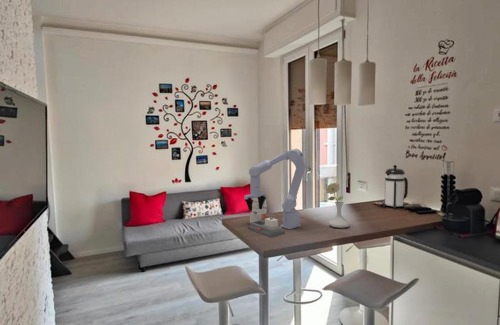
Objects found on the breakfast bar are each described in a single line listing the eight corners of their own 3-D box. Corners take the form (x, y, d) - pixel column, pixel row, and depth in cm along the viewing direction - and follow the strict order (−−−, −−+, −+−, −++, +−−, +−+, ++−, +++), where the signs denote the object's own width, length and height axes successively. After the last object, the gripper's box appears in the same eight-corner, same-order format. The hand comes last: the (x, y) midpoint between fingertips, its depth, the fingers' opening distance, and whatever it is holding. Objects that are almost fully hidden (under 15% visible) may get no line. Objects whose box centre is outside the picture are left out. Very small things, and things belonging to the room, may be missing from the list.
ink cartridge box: (267, 216, 206) (266, 194, 204) (264, 218, 201) (264, 195, 200) (254, 215, 209) (254, 193, 208) (251, 217, 204) (251, 194, 203)
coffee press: (407, 210, 220) (408, 166, 217) (382, 208, 226) (383, 165, 224) (407, 205, 235) (408, 164, 233) (383, 203, 242) (384, 163, 239)
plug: (255, 222, 194) (255, 210, 193) (261, 224, 189) (261, 212, 189) (249, 223, 191) (249, 211, 191) (256, 225, 187) (256, 213, 186)
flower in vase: (348, 224, 187) (348, 181, 185) (350, 229, 176) (351, 184, 174) (324, 223, 190) (325, 181, 188) (326, 228, 178) (326, 184, 176)
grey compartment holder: (261, 225, 186) (261, 211, 185) (284, 233, 171) (284, 217, 170) (247, 228, 180) (247, 213, 179) (270, 237, 165) (270, 220, 164)
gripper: (260, 184, 196) (260, 206, 197) (241, 187, 187) (241, 210, 188) (268, 186, 190) (268, 209, 192) (248, 188, 182) (248, 212, 183)
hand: (255, 209), depth 190 cm, fingers open, 7 cm apart
